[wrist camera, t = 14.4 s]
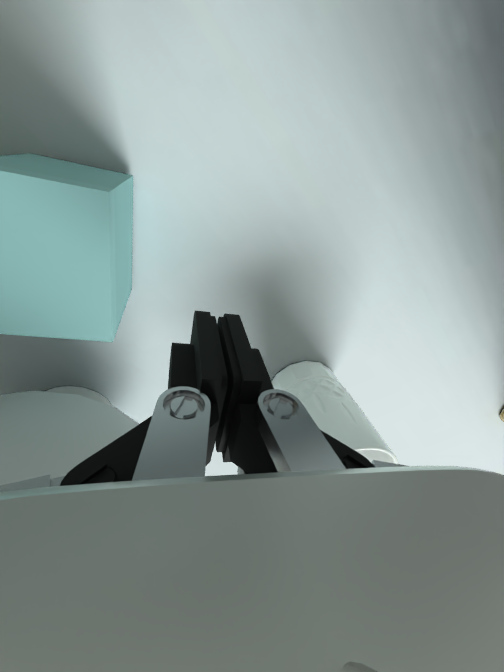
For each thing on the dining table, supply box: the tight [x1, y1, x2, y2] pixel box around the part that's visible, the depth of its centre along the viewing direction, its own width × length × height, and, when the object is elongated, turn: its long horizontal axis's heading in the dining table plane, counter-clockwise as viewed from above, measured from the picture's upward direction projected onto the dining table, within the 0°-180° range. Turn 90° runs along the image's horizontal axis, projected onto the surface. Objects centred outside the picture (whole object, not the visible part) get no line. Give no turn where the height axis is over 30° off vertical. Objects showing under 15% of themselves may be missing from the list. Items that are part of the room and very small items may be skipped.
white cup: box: [272, 361, 398, 464], centre depth 25 cm, size 8×8×10 cm
